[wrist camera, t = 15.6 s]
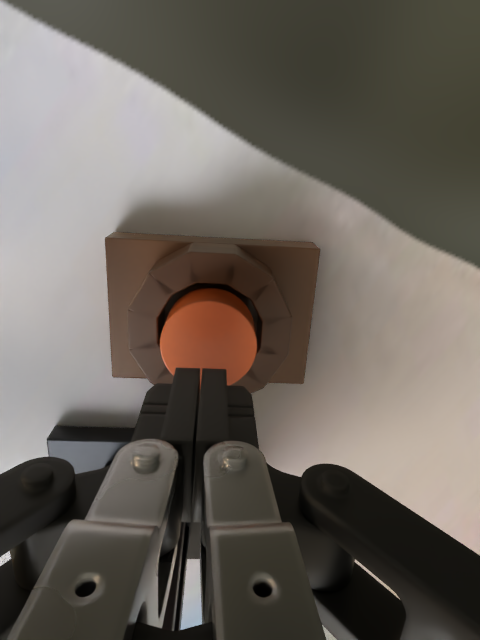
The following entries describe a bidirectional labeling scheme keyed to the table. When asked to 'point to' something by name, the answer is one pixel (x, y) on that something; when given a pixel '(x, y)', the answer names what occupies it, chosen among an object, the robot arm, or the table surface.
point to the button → (209, 334)
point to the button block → (210, 272)
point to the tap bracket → (98, 452)
